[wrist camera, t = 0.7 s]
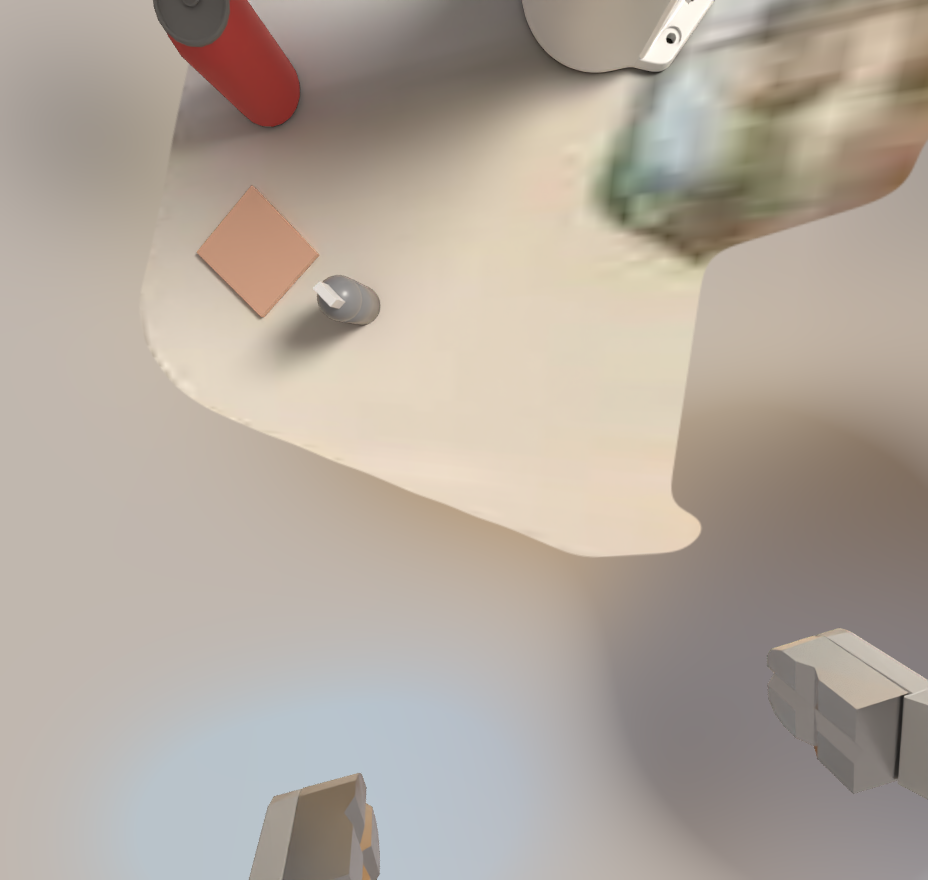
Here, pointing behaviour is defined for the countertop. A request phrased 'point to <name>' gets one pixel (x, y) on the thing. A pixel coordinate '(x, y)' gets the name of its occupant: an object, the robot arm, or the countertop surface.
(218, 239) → the tile
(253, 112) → the beer can
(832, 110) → the countertop surface
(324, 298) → the grey pump bottle
